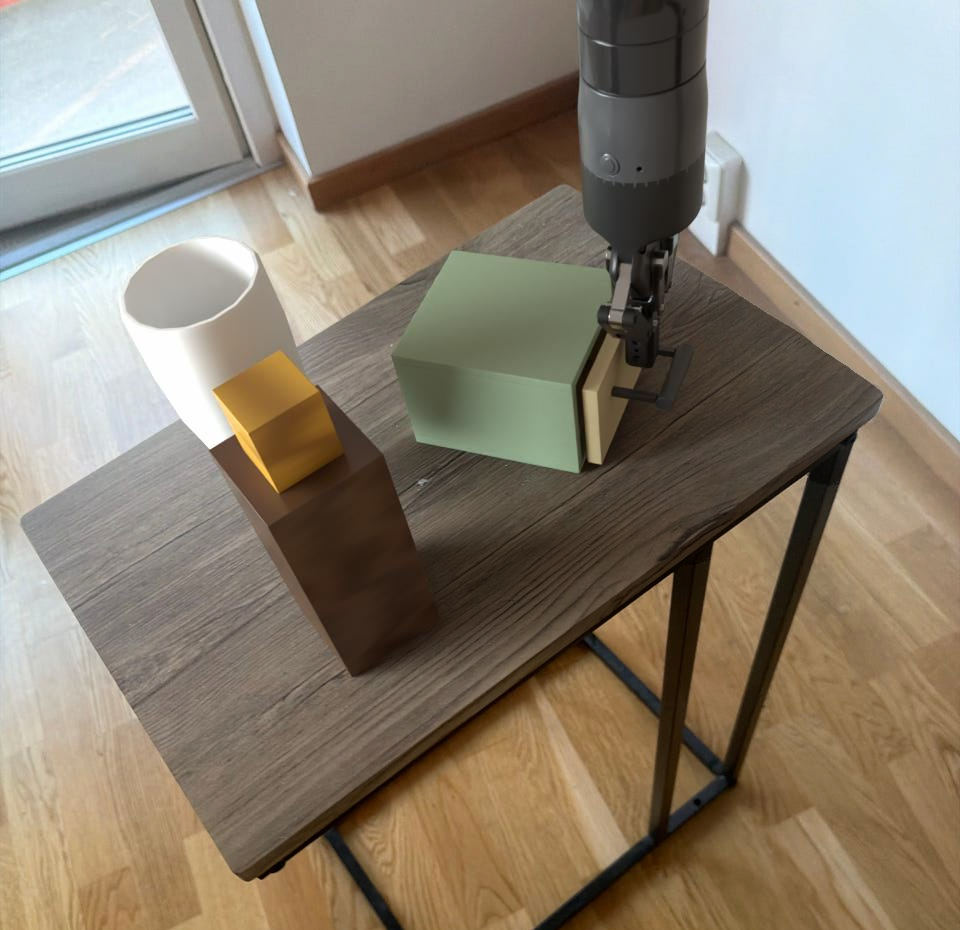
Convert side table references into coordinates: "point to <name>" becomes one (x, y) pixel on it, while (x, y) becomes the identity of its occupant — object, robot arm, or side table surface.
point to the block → (279, 420)
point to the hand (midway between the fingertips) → (642, 360)
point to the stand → (340, 545)
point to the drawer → (620, 389)
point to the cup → (204, 324)
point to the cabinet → (502, 357)
